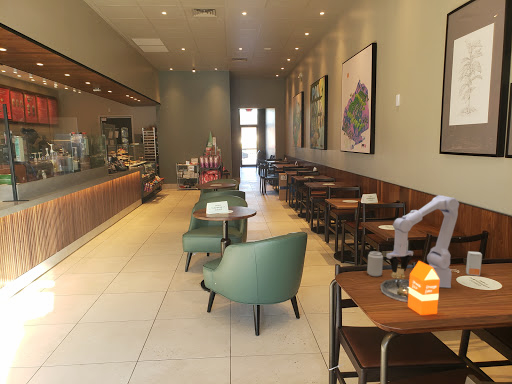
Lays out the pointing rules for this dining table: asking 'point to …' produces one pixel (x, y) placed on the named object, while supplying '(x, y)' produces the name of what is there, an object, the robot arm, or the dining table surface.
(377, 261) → the can
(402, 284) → the carrier
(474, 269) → the skincare box
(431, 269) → the orange juice
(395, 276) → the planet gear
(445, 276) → the robot arm
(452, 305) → the dining table surface
